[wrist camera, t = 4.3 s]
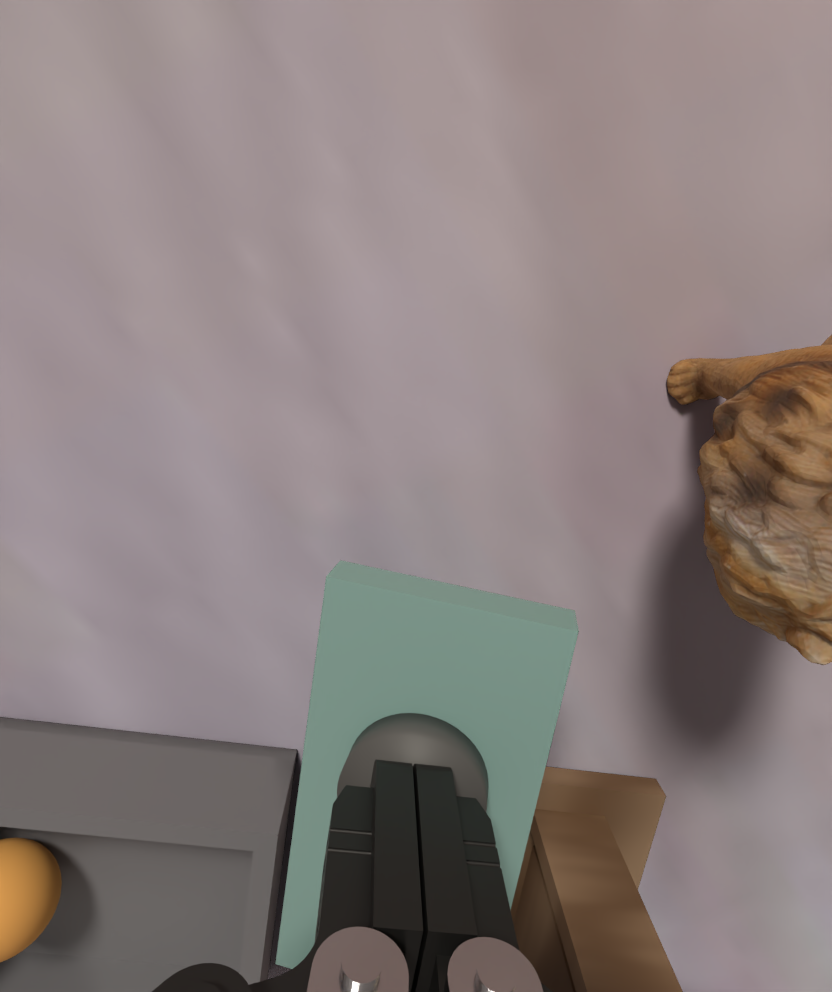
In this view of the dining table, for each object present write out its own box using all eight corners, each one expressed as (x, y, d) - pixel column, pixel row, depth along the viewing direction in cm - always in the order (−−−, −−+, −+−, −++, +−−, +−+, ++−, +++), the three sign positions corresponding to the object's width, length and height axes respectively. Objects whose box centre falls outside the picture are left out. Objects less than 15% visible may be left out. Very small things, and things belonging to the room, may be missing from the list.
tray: (297, 749, 20) (267, 883, 15) (268, 971, 22) (234, 1148, 17) (-36, 713, 19) (-178, 841, 14) (-30, 946, 21) (-153, 1125, 17)
